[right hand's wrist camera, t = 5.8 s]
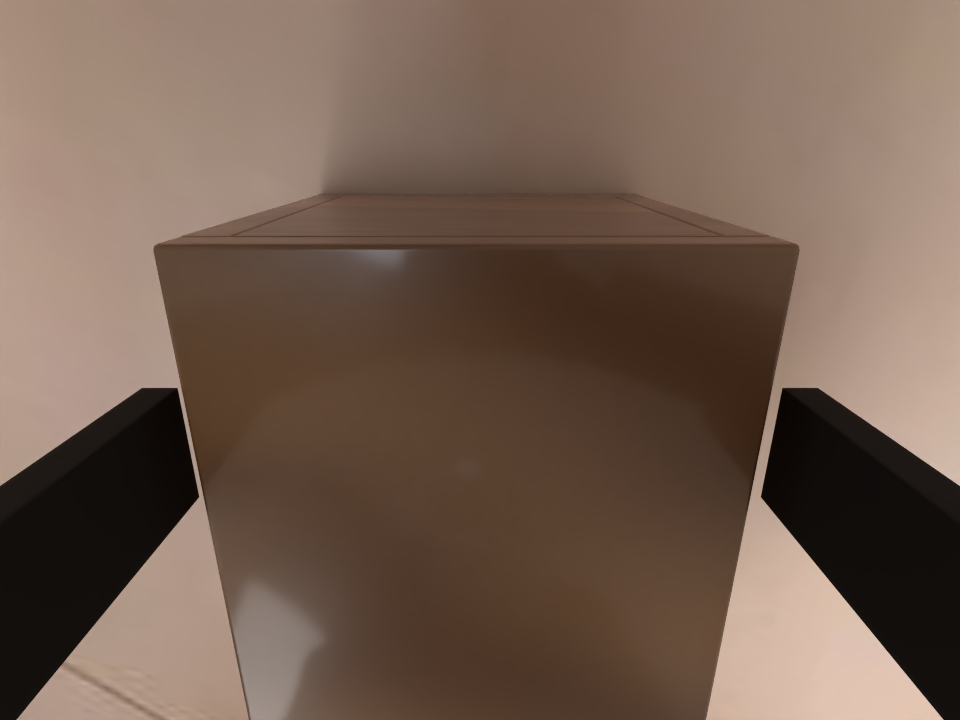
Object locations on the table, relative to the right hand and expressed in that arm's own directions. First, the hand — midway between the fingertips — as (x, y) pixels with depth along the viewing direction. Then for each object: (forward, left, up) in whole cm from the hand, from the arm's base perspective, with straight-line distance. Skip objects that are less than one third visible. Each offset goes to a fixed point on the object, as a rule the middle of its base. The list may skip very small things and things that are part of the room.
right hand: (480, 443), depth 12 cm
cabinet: (+5, +3, -9) cm, 11 cm away
